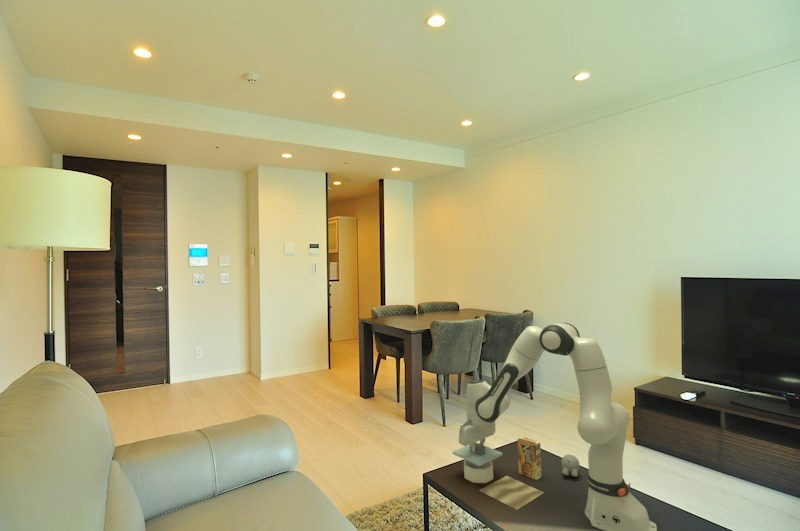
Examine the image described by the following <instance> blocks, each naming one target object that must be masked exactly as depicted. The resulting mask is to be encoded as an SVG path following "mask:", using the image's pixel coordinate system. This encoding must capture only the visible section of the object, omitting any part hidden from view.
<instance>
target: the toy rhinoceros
mask: <svg viewBox="0 0 800 531" xmlns="http://www.w3.org/2000/svg"><path fill="white" fill-rule="evenodd" d="M580 466H581V465H580V461H579V459H578V457H576V456H575V455H573V454H566V455H564V456H562V458H561V467H562V471H561V474H562V475H564V476H566V477H568V476H571V477H572V478H573V477H574V478H578V477H579V474H578V471H579V469H580Z"/></svg>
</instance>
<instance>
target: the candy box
mask: <svg viewBox="0 0 800 531" xmlns="http://www.w3.org/2000/svg"><path fill="white" fill-rule="evenodd" d="M541 455H542V454H541V442H540V441H538V440H534V439H532V438H528V437H525V436H520V437H519V438H517V462H518V463H517V464H518V466H517V467H518V474H519V475H523V476H525V477H528V478H529V479H530V478H531V479H533V480H536V481H538V480H539V479H540V478H542V459H541V458H542V456H541Z"/></svg>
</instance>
